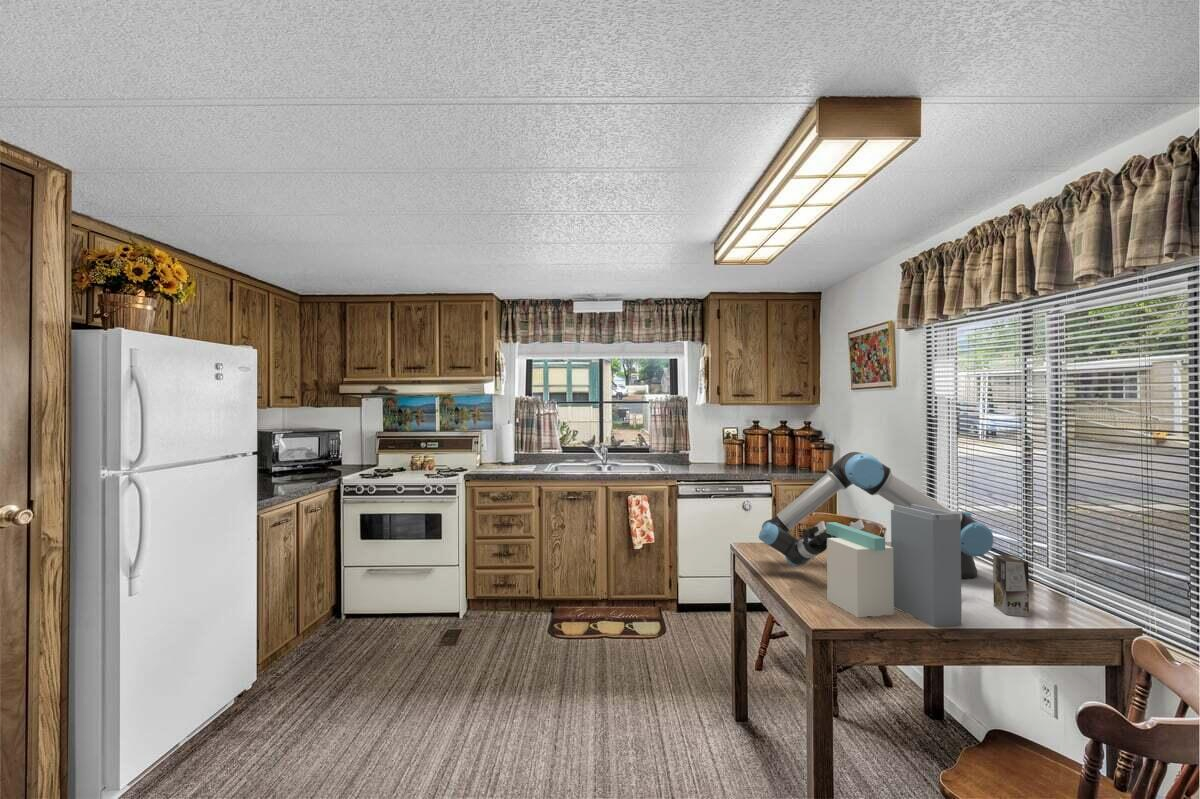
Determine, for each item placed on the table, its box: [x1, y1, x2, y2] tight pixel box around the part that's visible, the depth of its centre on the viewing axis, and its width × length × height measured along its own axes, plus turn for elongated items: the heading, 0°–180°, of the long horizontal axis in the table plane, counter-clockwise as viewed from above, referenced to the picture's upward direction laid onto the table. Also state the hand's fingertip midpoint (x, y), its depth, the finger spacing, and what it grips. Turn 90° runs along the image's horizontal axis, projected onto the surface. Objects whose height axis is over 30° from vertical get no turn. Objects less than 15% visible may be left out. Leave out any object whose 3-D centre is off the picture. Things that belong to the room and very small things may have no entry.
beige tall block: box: [826, 538, 895, 618], centre depth 189 cm, size 12×16×20 cm
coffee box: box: [992, 554, 1030, 617], centre depth 185 cm, size 9×6×16 cm
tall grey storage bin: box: [890, 504, 963, 628], centre depth 182 cm, size 9×18×32 cm, turn 11°
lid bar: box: [825, 521, 886, 551], centre depth 191 cm, size 4×26×4 cm, turn 11°
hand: (843, 524), depth 197 cm, fingers open, 13 cm apart
